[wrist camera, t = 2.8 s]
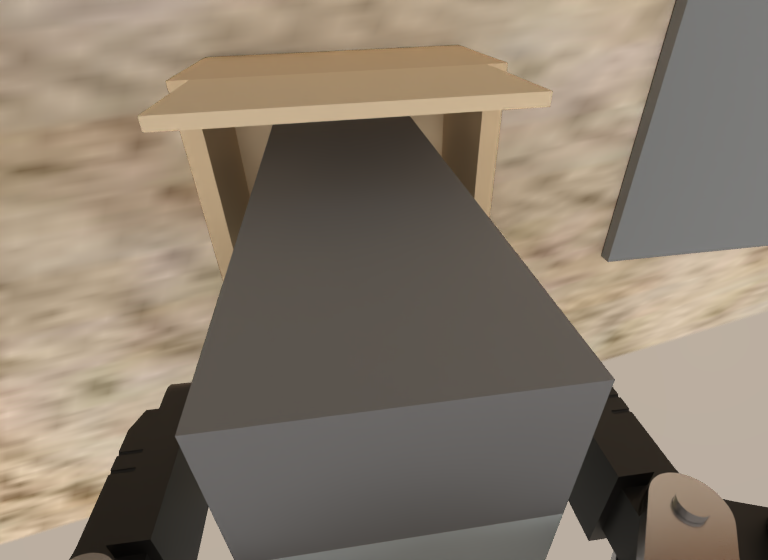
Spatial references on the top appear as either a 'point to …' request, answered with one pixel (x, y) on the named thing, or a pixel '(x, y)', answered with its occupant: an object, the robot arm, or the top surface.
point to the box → (383, 365)
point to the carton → (333, 113)
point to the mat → (700, 139)
